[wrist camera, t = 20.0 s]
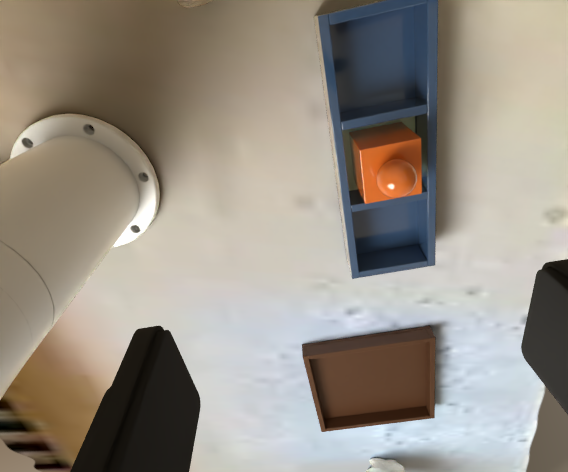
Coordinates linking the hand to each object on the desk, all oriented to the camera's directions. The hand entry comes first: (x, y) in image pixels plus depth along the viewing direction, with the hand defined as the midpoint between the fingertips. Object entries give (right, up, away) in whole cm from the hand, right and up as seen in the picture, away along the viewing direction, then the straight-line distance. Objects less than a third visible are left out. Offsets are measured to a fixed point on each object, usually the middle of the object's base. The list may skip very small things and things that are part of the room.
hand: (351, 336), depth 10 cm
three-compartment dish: (+6, +10, +23) cm, 26 cm away
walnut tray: (+9, -16, +38) cm, 42 cm away
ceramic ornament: (+6, +10, +22) cm, 25 cm away
